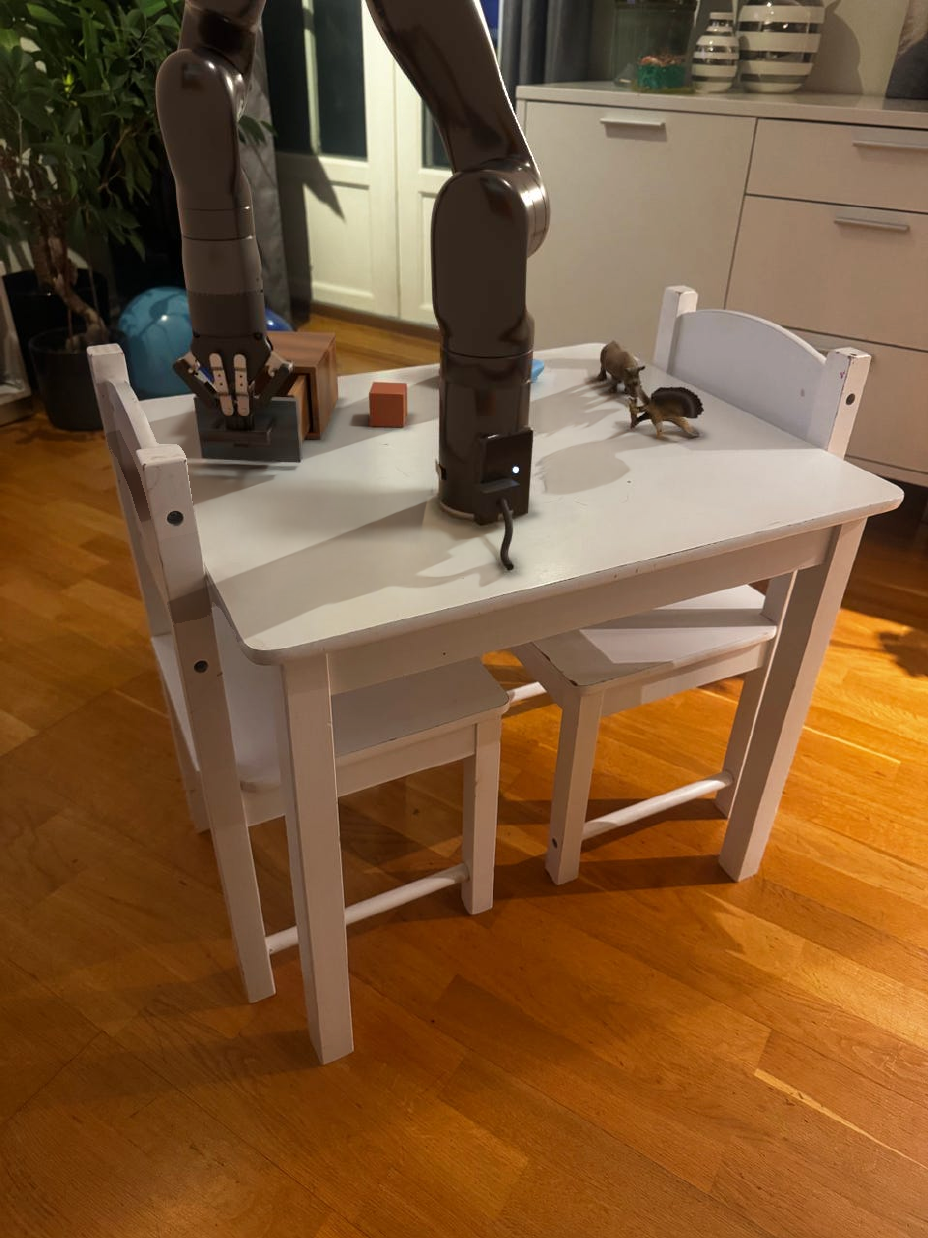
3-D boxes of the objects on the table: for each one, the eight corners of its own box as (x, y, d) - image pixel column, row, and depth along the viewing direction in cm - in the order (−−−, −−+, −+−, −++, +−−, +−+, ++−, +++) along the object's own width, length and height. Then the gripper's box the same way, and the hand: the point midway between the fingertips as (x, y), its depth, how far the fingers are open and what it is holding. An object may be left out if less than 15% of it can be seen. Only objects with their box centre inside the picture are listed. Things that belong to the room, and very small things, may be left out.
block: (404, 427, 118) (403, 394, 115) (369, 426, 118) (368, 392, 115) (407, 415, 121) (406, 382, 119) (374, 414, 121) (373, 381, 119)
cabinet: (320, 439, 113) (315, 366, 109) (219, 435, 114) (210, 363, 109) (338, 399, 126) (335, 332, 121) (247, 396, 126) (240, 329, 121)
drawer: (291, 481, 101) (285, 418, 97) (188, 478, 101) (178, 414, 97) (320, 420, 116) (317, 363, 112) (231, 417, 117) (225, 360, 113)
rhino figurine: (622, 408, 125) (627, 365, 122) (592, 376, 137) (596, 336, 133) (650, 407, 126) (656, 364, 123) (618, 375, 137) (623, 335, 134)
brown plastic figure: (631, 436, 114) (705, 427, 112) (626, 379, 114) (701, 370, 112) (631, 448, 121) (701, 440, 119) (627, 394, 121) (697, 386, 120)
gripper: (146, 288, 89) (173, 455, 98) (281, 293, 88) (295, 460, 98) (170, 271, 95) (193, 430, 105) (297, 275, 95) (308, 434, 104)
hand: (243, 444), depth 101 cm, fingers closed
